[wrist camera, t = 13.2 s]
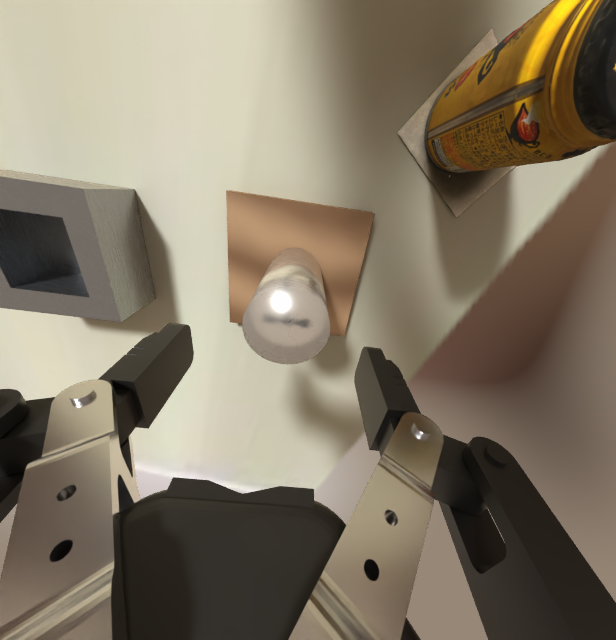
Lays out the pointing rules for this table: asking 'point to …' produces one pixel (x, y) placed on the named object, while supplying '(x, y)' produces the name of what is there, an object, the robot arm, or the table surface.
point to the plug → (288, 310)
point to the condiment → (520, 101)
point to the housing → (71, 248)
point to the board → (295, 232)
